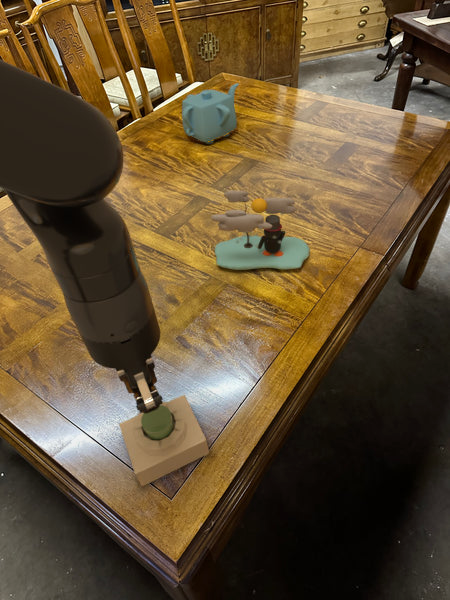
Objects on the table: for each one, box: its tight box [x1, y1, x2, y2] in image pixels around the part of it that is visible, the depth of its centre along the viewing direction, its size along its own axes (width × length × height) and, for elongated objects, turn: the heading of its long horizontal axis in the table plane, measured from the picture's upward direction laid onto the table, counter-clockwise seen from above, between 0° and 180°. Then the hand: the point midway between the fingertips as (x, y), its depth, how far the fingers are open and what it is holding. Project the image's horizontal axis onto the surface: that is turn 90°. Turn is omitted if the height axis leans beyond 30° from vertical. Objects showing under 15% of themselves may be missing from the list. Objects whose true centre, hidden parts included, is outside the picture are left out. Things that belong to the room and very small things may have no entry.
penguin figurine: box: [210, 190, 311, 271], centre depth 83 cm, size 20×11×15 cm, turn 81°
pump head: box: [141, 405, 174, 440], centre depth 55 cm, size 4×4×2 cm
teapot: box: [181, 83, 240, 145], centre depth 129 cm, size 18×16×14 cm
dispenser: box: [118, 394, 210, 487], centre depth 58 cm, size 10×8×6 cm
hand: (150, 406), depth 52 cm, fingers closed
